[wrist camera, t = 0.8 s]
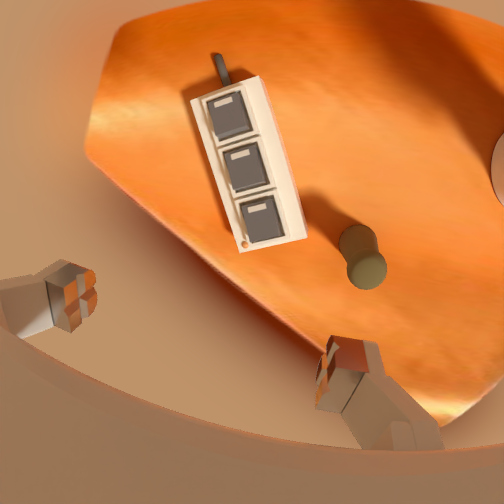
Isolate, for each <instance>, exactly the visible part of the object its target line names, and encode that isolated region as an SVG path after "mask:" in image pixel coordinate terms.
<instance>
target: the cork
mask: <svg viewBox="0 0 504 504" xmlns="http://www.w3.org/2000/svg"><path fill="white" fill-rule="evenodd" d="M339 248H340V251H341V253H342V255H343V257H344V258H345V260H346V262H347V275H348V278H349V280H350V282H351V283H352V284H353V285H354V286H355V287H357V288H359V289H364V290H368V289H373V288H375V287H377V286H379V285H380V284H381V283H382V282H383V280H384V279H385V277H386V273H387V264H386V261H385V259H384V257H383V256H382V255H381V254H380V253H379V250H378V244H377V238H376V235H375V233H374V232H373V231H372V230H371V229H370V228H369V227H367V226H364V225H353V226H351V227H349V228H347V229H346V230H345V231H344V232H343V233H342V235H341V237H340V240H339Z"/></svg>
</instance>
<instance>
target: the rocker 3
mask: <svg viewBox="0 0 504 504" xmlns="http://www.w3.org/2000/svg"><path fill="white" fill-rule="evenodd" d="M242 211H243V215H244V220H245V224H246V228H247V232H248V236H249V241H250V242H254V241H258V240H263V239H267V238H271V237H276V236H280V235H282V234H281V230H280V226H279V222H278V217H277V213H276V209H275V205H274V201H273V199H268V200H265V201H261V202H257V203H253V204H249V205H246V206H242Z"/></svg>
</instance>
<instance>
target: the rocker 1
mask: <svg viewBox="0 0 504 504" xmlns="http://www.w3.org/2000/svg"><path fill="white" fill-rule="evenodd" d="M208 105H209V110H210V114H211V118H212V123H213V127H214V131H215V136H217V137H218V138H223V137H226V136H229V135H232V134H235V133H238V132H241V131H245V130H248V129H249V126H248V122H247V118H246V114H245V110H244V107H243V103H242V99H241V96H240V95H239V94H238V93H234V94H231V95H228V96H225V97H223V98H220V99H217V100H214V101H212V102H209V103H208Z"/></svg>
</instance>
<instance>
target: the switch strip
mask: <svg viewBox="0 0 504 504" xmlns="http://www.w3.org/2000/svg"><path fill="white" fill-rule="evenodd" d="M214 59H215V62H216V65H217V68H218V71H219V74H220V77H221V80H222V83H223V86H224V88H221V89H218V90H216V91H213V92H210V93H208V94H205V95H203V96H200V97H198V98H195V99H193V100H190V103H191V106H192V109H193V112H194V115H195V118H196V121H197V124H198V128H199V131H200V134H201V137H202V140H203V143H204V146H205V149H206V152H207V155H208V158H209V161H210V165H211V168H212V171H213V174H214V177H215V180H216V183H217V186H218V189H219V192H220V195H221V198H222V201H223V204H224V207H225V210H226V213H227V216H228V219H229V222H230V225H231V228H232V231H233V234H234V237H235V240H236V243H237V246H238V249H239V252H240V253H241V252H246V251H250V250H255V249H259V248H264V247H268V246H273V245H277V244H282V243H286V242H291V241H295V240H300V239H304V238H307V236H308V227H307V223H306V219H305V216H304V212H303V208H302V204H301V201H300V197H299V194H298V190H297V186H296V183H295V179H294V176H293V172H292V169H291V166H290V162H289V159H288V155H287V152H286V149H285V146H284V142H283V139H282V136H281V133H280V129H279V126H278V123H277V120H276V117H275V114H274V111H273V108H272V104H271V101H270V98H269V95H268V92H267V90H266V87H265V84H264V81H263V80H262V79H261V78H260V77H259V76H256V77H253V78H250V79H247V80H244V81H241V82H238V83H235V84H231V81H230V78H229V75H228V72H227V69H226V66H225V63H224V60H223V57H222V54H218V55H215V56H214ZM234 93H238V94H239V95H240V96H241V99H242V103H243V107H244V110H245V114H246V118H247V122H248V126H249V129H248V130H245V131H241V132H238V133H235V134H232V135H229V136H226V137H223V138H218V137H217V136H215V131H214V127H213V123H212V118H211V114H210V110H209V105H208V103H209V102H212V101H214V100H217V99H220V98H223V97H225V96H228V95H231V94H234ZM252 145H255V146H256V147H257V149H258V152H259V156H260V160H261V164H262V168H263V172H264V176H265V180H266V183H263V184H259V185H255V186H252V187H248V188H245V189H241V190H237V191H236V190H233V188H232V184H231V179H230V175H229V171H228V167H227V163H226V158H225V154H227V153H230V152H233V151H236V150H239V149H242V148H246V147H249V146H252ZM268 199H273V201H274V205H275V209H276V213H277V217H278V222H279V226H280V230H281V234H282V235H280V236H276V237H271V238H267V239H263V240H258V241H254V242H250V241H249V236H248V232H247V228H246V224H245V220H244V215H243V211H242V206H246V205H249V204H253V203H257V202H261V201H265V200H268Z"/></svg>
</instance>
